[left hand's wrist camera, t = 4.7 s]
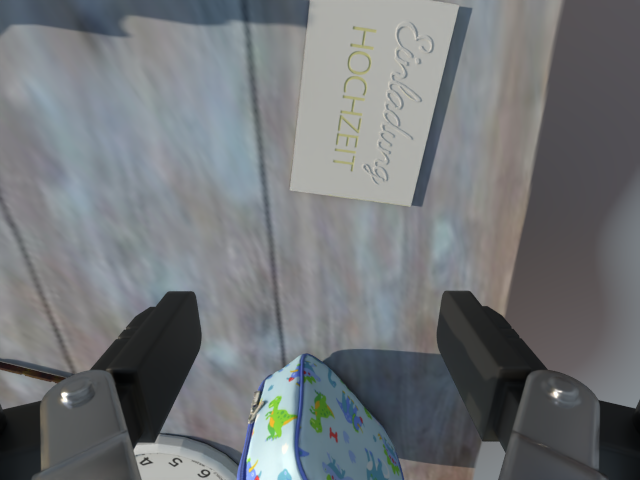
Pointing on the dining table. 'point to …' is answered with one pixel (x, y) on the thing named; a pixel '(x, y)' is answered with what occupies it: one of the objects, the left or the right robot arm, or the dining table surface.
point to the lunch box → (313, 430)
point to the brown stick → (30, 373)
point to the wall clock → (182, 460)
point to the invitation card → (369, 96)
